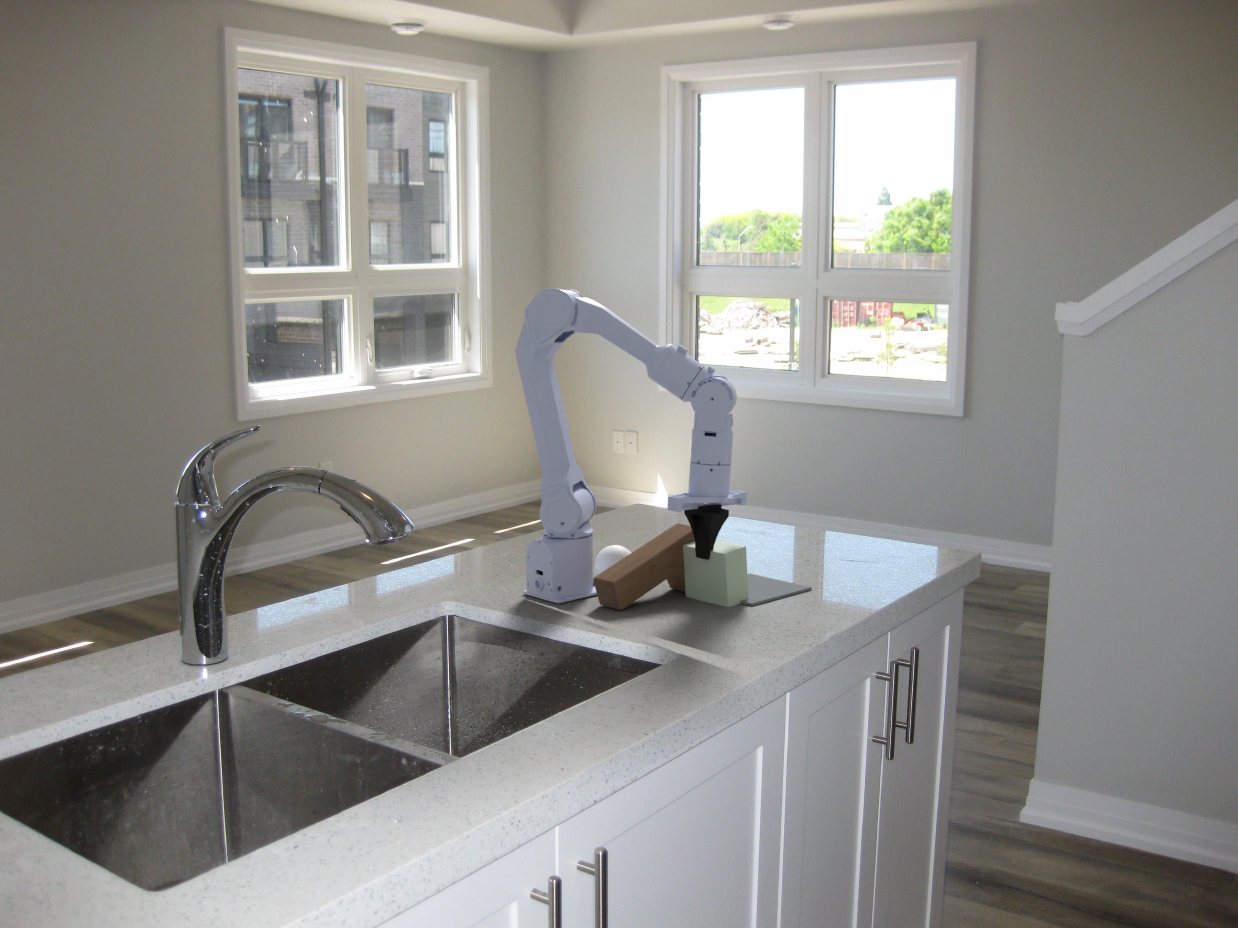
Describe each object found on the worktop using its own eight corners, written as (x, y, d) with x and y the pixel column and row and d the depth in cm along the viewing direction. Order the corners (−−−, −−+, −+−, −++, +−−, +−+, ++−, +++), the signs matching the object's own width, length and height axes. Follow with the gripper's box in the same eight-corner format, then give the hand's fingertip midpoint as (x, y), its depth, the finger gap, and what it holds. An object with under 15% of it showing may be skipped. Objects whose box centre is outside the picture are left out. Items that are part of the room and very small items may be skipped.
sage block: (728, 608, 161) (725, 553, 160) (685, 598, 167) (682, 545, 165) (748, 599, 164) (746, 546, 163) (706, 589, 170) (703, 537, 168)
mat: (751, 606, 162) (751, 603, 162) (688, 590, 170) (688, 588, 170) (811, 589, 171) (811, 587, 171) (749, 575, 180) (749, 573, 180)
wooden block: (711, 580, 171) (628, 640, 160) (689, 575, 174) (606, 633, 163) (699, 526, 168) (613, 583, 157) (676, 521, 171) (591, 577, 160)
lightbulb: (660, 539, 180) (605, 536, 173) (671, 574, 177) (616, 573, 170) (637, 558, 184) (582, 556, 177) (648, 592, 181) (593, 591, 174)
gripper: (696, 468, 153) (690, 568, 155) (765, 464, 163) (759, 557, 165) (658, 462, 158) (653, 559, 160) (728, 458, 168) (722, 549, 170)
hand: (704, 558), depth 163 cm, fingers closed, pressing on sage block
